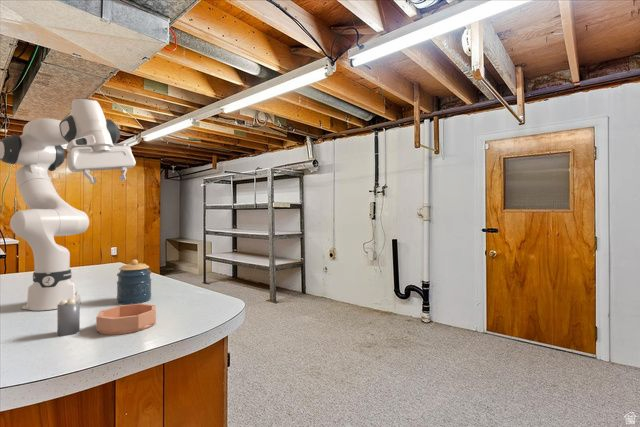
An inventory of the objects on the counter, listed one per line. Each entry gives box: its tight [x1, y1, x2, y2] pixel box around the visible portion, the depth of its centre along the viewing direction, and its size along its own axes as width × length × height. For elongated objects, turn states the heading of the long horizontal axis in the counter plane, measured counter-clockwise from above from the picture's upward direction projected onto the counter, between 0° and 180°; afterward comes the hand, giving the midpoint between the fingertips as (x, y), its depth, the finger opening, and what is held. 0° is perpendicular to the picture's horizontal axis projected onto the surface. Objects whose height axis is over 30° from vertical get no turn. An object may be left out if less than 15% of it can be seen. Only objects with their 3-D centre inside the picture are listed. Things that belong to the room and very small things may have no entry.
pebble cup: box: [56, 298, 81, 337], centre depth 103 cm, size 6×6×10 cm
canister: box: [116, 259, 153, 305], centre depth 141 cm, size 13×13×18 cm
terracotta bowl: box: [95, 303, 157, 336], centre depth 109 cm, size 16×16×5 cm
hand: (109, 181), depth 115 cm, fingers open, 8 cm apart
